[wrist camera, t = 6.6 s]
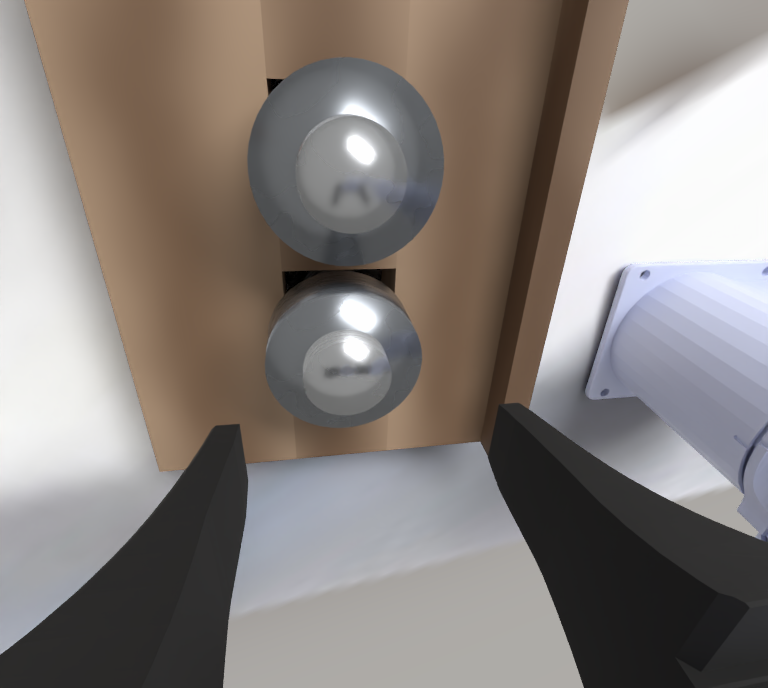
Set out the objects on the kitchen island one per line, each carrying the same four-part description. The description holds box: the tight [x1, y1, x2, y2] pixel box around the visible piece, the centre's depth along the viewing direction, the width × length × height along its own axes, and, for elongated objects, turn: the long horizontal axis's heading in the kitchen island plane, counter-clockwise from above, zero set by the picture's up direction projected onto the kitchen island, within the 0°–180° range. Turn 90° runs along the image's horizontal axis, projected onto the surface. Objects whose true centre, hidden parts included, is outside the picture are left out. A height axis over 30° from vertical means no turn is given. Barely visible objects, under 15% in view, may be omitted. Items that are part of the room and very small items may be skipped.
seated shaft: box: [247, 57, 444, 266], centre depth 14 cm, size 5×5×7 cm
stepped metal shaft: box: [265, 270, 422, 428], centre depth 17 cm, size 5×5×7 cm
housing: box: [24, 0, 629, 472], centre depth 17 cm, size 16×20×4 cm
